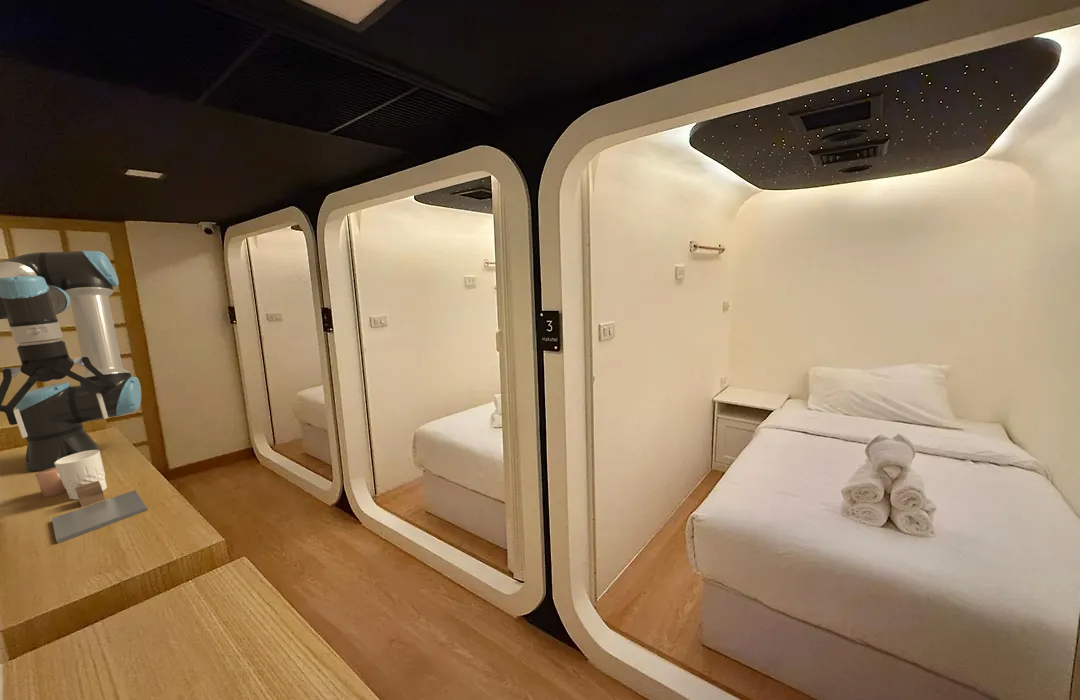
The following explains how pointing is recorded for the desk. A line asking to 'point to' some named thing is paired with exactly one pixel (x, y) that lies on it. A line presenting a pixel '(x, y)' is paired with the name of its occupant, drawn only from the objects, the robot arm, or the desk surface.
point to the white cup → (81, 471)
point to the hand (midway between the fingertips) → (67, 426)
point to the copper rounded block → (50, 482)
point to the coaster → (97, 515)
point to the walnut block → (90, 493)
